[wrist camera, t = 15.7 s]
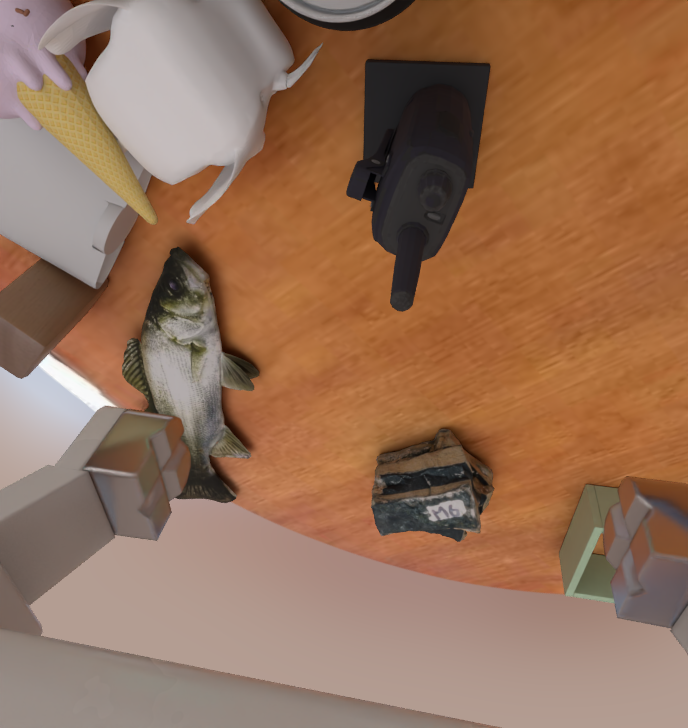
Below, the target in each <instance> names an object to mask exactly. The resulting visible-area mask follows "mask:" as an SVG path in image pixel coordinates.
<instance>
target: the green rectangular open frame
mask: <svg viewBox="0 0 688 728" xmlns="http://www.w3.org/2000/svg"><path fill="white" fill-rule="evenodd" d="M617 490H618V488H612V487H604V486H596V485H588V484H586V486H585V488H584V491H583V493H582V496H581V498H580V501H579V503H578V506H577V508H576V511H575V514H574V516H573V519H572V521H571V524H570V526H569V529H568V531H567V534H566V537H565V539H564V542H563V544H562V547H561V549H560V552H559V558H560V565H561V572H562V579H563V586H564V593H565V596H570V597H571V596H573V597H577V598H583V599H590V600H597V601H603V602H611V603H614V598H613V593H612V588H611V583H610V582H611V580H612V578H613V576H614V574H615V572H616V570H615V569H614V568H613V566H612V565H611V564H610V563H609V562H608V561H607V560H606V557H605V556H604V555H597V554H592V552H593V550H594V547H595V545H596V543H597V541H598V539H599V536H600V534H601V533H603V530H604V523H605V518H606V515H607V513H608V510H609V508H610V506H612V505H614V504H616V503H618V502H620V500H619V495H618V491H617Z"/></svg>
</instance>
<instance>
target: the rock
mask: <svg viewBox="0 0 688 728" xmlns="http://www.w3.org/2000/svg"><path fill="white" fill-rule="evenodd" d="M376 460H377V463H378V466H377V468H376V470H375V481H374V486H373V489H372V506H371V508H372V510H373V514H374V519H375V524H376V526H377V529H378V530H379V532H380V534H381V536H384V535H389V534H392V533H399V532H406V531H425V532H429V533H436V534H441V535H442V536H446V537H450V538H453V539H455V540H456V541H457V542H459V541H461V540H463V539H464V538H465V537H466V536H467V532H466V531H470V532H475V533H480V528H481V524H480V515H481V514H482V512H483V511H484V510H485V508H486V507H487V506H488V503H489V501H490V498H491V496H492V493H493V491H494V488H493V486H492V479H493V472H492V470H491V469H490V468H489V467H488V466H486V465H485V464H483V463H482V462H480V461H479V460H477V459H476V458H474V457H473V456H472V455H470V454H469V453H467V452H466V451H465V450H464V449H463V448H462V445H461V444H460V442H459V441H458V439H457V438H456V437H455V436H454V434H453V433H452V432H451V430H448V429H441V430H439V432H438V433H437V434H436V436H435V439H434V440H432V441H427V442H422V443H421V444H420V445H416V446H410V447H408V448H405V449H403V450H401V451H398V452H392V453H386V454H381V455H379V456H378V457H377V459H376Z"/></svg>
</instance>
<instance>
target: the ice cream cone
mask: <svg viewBox="0 0 688 728" xmlns="http://www.w3.org/2000/svg"><path fill="white" fill-rule="evenodd" d="M72 8H74V6H73V5H72V3H71V1H70V0H0V119H12V118H20V117H21V118H22V119H23V120H24V121H25V122H26V124H27V125H28V126H29V127H30V128H32V129H33V130H38V131H39V130H41V129H42V128H43V127H44V128H45V129H46V130H47V131H48V132H49V133H50V134H52V135H53V136H54V137H55V138H56V139H57V140H58V141H59V142H60V143H61V144H63V145H64V146H65V147H66V148H67V149H68V150H69V151H70V152H71V153H72V154H74V155H75V156H76V157H77V158H78V159H79V160H80V161H81V162H82V163H83V164H84V165H86V166H87V167H88V168H89V169H90V170H91V171H92V172H93V173H94V174H95V175H97V176H98V177H99V178H100V179H101V180H102V181H103V182H104V183H105V184H106V185H108V186H109V187H110V188H111V189H112V190H113V191H114V192H115V193H116V194H117V195H118V196H120V197H121V198H122V199H123V200H124V201H125V202H126V203H127V204H128V205H129V206H131V207H132V208H133V209H134V210H135V211H136V212H137V213H138V214H139V215H140V216H142V217H143V218H144V219H145V220H146V221H147V222H148V223H150V224H152V225H155V224H157V222H158V218H157V215H156V213H155V211H154V209H153V207H152V206H151V204H150V202H149V200H148V198H147V196H146V194H145V193H144V191H143V189H142V187H141V185H140V183H139V181H138V180H137V178H136V176H135V174H134V172H133V170H132V168H131V166H130V165H129V163H128V161H127V159H126V157H125V155H124V153H123V152H122V150H121V148H120V146H119V144H118V142H117V140H116V138H115V137H114V135H113V133H112V131H111V130H110V129H109V127H108V126H107V125H106V124H105V122H104V121H103V120H102V118H101V117H100V115H99V114H98V112H97V110H96V108H95V107H94V105H93V102H92V100H91V98H90V95H89V92H88V89H87V86H86V83H85V80H86V77H87V71H86V69H85V68H84V66H83V65H84V61H85V57H86V39H84V40H82V41H80V42H79V43H78V44H77V45H76V46H75V47H74V48H72V49H71V50H70V51H69V52H67V53H65V54H62V55H55V54H53V53H51V52H50V51H48V50H47V49H46V48H45V47H44V48H43V49H41V50H38V45H39V42H40V40H41V38H42V37H43V35H44V34H45V32H46V31H47V30H48V28H49V27H50V26H51V25H52V24H53V23H54V22H55V21H56V20H57V19H58V18H59V17H61V16H62V15H63V14H64V13H66V12H67V11H69V10H70V9H72Z"/></svg>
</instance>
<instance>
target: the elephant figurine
mask: <svg viewBox="0 0 688 728" xmlns="http://www.w3.org/2000/svg"><path fill="white" fill-rule="evenodd" d="M108 30H111V36H110V41H109V44H108V46H107V47H106V48H105V50H104V51H103V52H102V53H101V55H100V56H99V57H98V59H97V60H96V62H95V63H94V65H93V67H92V68H91V70H90V72H89V73H88V75H87V77H86V80H85V82H86V86H87V89H88V92H89V95H90V98H91V100H92V102H93V105H94V107H95V108H96V110H97V112H98V114H99V115H100V117H101V118H102V120H103V121H104V122H105V124H106V125H107V126H108V127H109V129H110V130H111V131H112V132H113V134H114V135H115V136H116V137H117V138H118V140H117V142H118V144H119V146H120V148H121V150H122V152H123V153H125V152H126V151H129V152H130V154H131V155H132V156H133V157H134V158H135V159H136V160H137V161H138V162H139V163H140V164H141V165H142V166H143V167H144V168H145V169H146V170H147V171H148V172H149V173H151V174H152V175H153V176H155V177H156V178H158V179H160V180H161V181H164V182H166V183H169V184H171V185H174V184H177V183H179V182H181V181H183V180H185V179H186V178H189V177H191V176H193V175H195V174H198V173H199V172H201V171H202V170H204V169H205V168H206V167H208V166H209V165H217V166H225V167H224V169H223V170H222V172H221V173H220V175H219V176H218V178H217V179H216V181H215V182H214V184H213V185H212V187H211V188H210V189H209V191H208V192H207V193H206V194H205V195H204V196H203V197H202V198H200V199H199V200H198V201H197V202H196V203H195V204H194V205H193V206H192V208H191V210H190V218H189V219H188V220H187V223H191V224H195V223H196V221H197V220H198V219H199V218H200V217H201V216H202V215H203V213H204V212H205V211H206V210H207V209H208V208H209V207H210V206H211V205H212V204H214V203H215V202H216V201H217V200H218V199H219V198H220V197H221V196H222V195H223V194H224V192H225V191H226V190H227V189H228V187H229V186H230V184H231V183H232V182H233V181H234V179H235V178H236V177H237V176H238V174H239V173H240V172H241V170H242V168H243V167H244V165H245V163H246V162H247V161H248V160H249V159H250V158H252V157H254V156H255V155H256V154H257V153H258V152H260V151H261V150H262V148H263V146H264V142H265V133H264V131H263V129H264V126H265V121H266V115H267V109H268V104H269V101H270V98H271V96H272V95H273V94H275V93H276V92H277V91H279V90H285V89H287V87H288V88H290V87H291V86H293V85H294V83H295V82H296V81H297V80H298V79H299V78H300V77H301V75H302V74H303V73H304V72H305V71H306V70H307V68H308V67H309V66H310V65H311V63H312V62H313V60H314V58H315V56H316V55H317V53H318V51H319V49H320V48H321V46H322V44H323V43H324V42H323V43H322V44H321V45H320V46H318V47H317V48H316V49H315V50H314V51H313V52H312V53H311V55H310V56H309V57H308V58H307V59H306V60H305V62H304V63H303V64H302V65H301V66H300V67H299V68H297V69H296V70H295V71H293V72H292V73H290V74H287V73H286V71H287V70H288V69H289V68H290V67H291V66H292V65H293V64H294V61H295V60H294V55H293V51H292V48H291V46H290V44H289V42H288V40H287V39H286V37H285V36H284V34H283V33H282V31H281V30H280V28H279V27H278V25H277V24H276V22H275V21H274V19H273V18H272V16H271V15H270V13H269V12H268V10H267V9H266V7H265V6H264V4H263V3H262V1H261V0H93V1H90V2H87V3H84V4H81V5H79V6H76V7H74V8H72V9H70V10H69V11H67V12H66V13H64V14H63V15H62V16H61V17H59V18H58V19H57V20H56V21H55V22H54V23H53V24H52V25H51V26H50V27H49V28H48V30H47V31H46V32H45V34H44V35H43V37H42V38H41V40H40V42H39V45H38V50H41V49H43V48H44V47H45V48H46V49H47V50H48V51H50V52H51V53H53V54H55V55H62V54H65V53H67V52H69V51H70V50H71V49H72V48H74V47H75V46H76V45H77V44H78V43H79V42H80V41H82V40H84V39H86V38H88V37H91V36H94V35H97V34H99V33H102V32H105V31H108Z"/></svg>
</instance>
